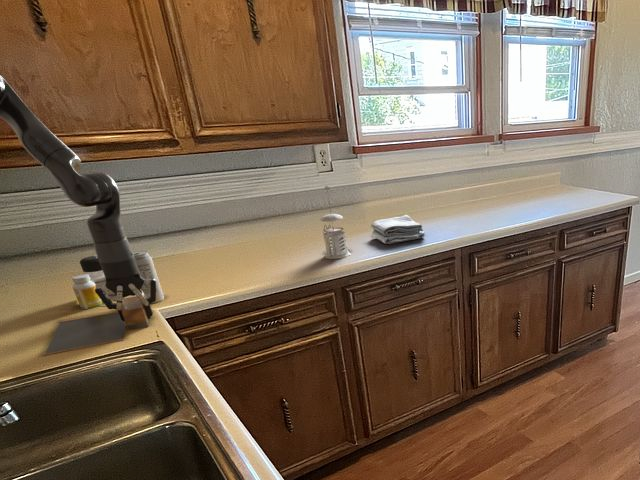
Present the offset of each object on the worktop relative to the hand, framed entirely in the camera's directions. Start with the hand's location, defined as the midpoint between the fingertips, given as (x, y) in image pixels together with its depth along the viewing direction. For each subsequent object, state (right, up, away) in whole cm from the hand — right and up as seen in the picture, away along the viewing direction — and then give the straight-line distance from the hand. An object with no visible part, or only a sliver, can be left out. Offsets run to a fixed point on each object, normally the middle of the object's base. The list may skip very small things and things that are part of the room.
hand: (138, 319), depth 138 cm
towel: (+57, +39, +77) cm, 104 cm away
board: (-10, -4, -4) cm, 11 cm away
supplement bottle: (-22, +4, +13) cm, 26 cm away
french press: (+37, +28, +56) cm, 73 cm away
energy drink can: (-5, +6, +15) cm, 17 cm away
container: (-22, +7, +19) cm, 30 cm away
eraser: (0, -1, 0) cm, 1 cm away
